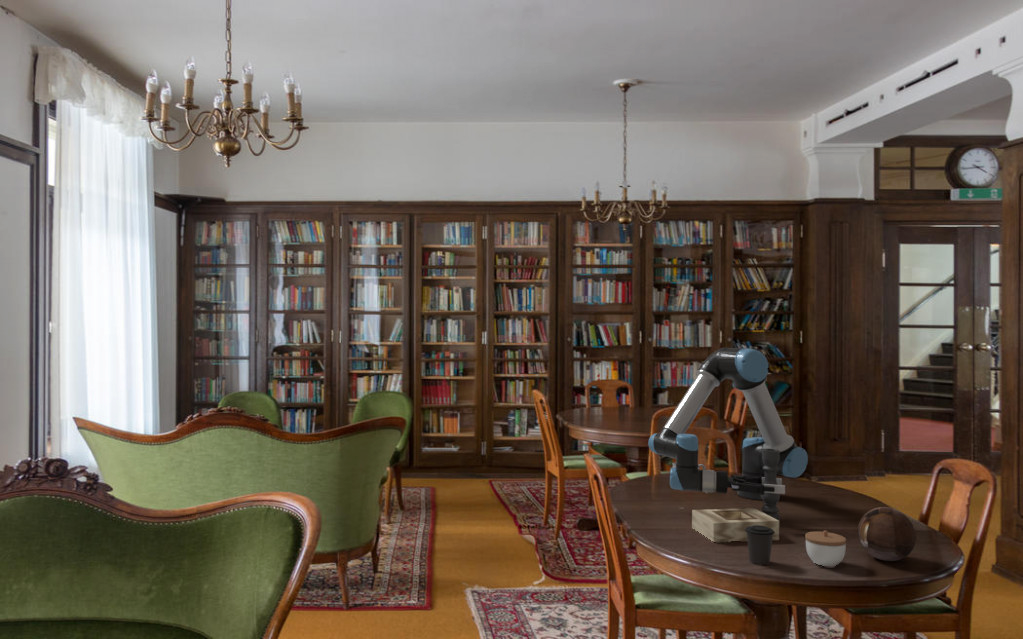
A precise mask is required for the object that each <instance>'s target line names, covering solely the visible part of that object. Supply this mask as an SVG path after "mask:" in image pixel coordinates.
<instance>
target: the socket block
mask: <svg viewBox="0 0 1023 639" xmlns="http://www.w3.org/2000/svg"><path fill="white" fill-rule="evenodd" d="M754 525H760V526H765V527H768V528H771V529H773V530H774V532H775V533H774V534H773V538H772V541H779V540H780V519H779V520H777V519H775V518H773V517H771V516H769V515H767V514H765V513H763V512H762V510H758V509H757V508H755V507H747V508H746V507H743V508H738V507H737V508H714V509H710V508H709V509H692V510H691V529H693V530H694V529H695V530H694V531H696V532H697V531H698V532H699V534H700V533H701V534H702V536H703V535H704V536H705V537H704V536H703V537H704V538H706V537H707V538H708V539H707V538H706V539H707V540H709V539H710V540H711V541H710V540H709V541H710V542H712V541H713V542H716V543H730V542H731V541H741V542H748V540H747V532H746V531H745V529H746V527H748V526H754ZM698 532H697V533H698ZM701 534H700V535H701ZM727 541H728V542H727ZM713 542H712V543H713ZM731 543H732V542H731Z"/></svg>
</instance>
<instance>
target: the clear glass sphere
mask: <svg viewBox="0 0 1023 639" xmlns="http://www.w3.org/2000/svg"><path fill="white" fill-rule="evenodd" d="M857 536H858V540H859V542H860V544H861V546H862V547H863V549H864V550H865V551H866V552H867V553H868V554H870V555H871V556H872V557H874V558H876V559H878V560H880V561H886V562H897V561H899V560H903V559H905V558H906V557H908V555H910V554H911V552H913V549H914V548H915V546H916V542H917V541H916V540H917V534H916V530H915V526H914V525H913V523H912V522H911V520H910V519H909V518H908V517H907V515H906V514H904V513H903V512H901V511H899V510H898V509H894V508H891V507H888V506H887V507H886V506H882V507H881V506H880V507H875V508H872V509H870V510H868V511H866V513H864V514H863V516H861V518H860V520H859V521H858V526H857Z"/></svg>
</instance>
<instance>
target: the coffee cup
mask: <svg viewBox="0 0 1023 639" xmlns="http://www.w3.org/2000/svg"><path fill="white" fill-rule="evenodd" d="M745 531H746V532H747V540H748V541H747V548H748V550H747V551H748V557H749V559H748V560H749V563H751V562H752V563H751V564H753V563H755V564H754V565H757V564H761V565H760V566H765V565H764V564H768V565H769V564H770V559H771V552H772V545H773V540H772V538H773V534H774V533H775V532H774V530H773V529H771V528H768V527H765V526H760V525H754V526H748V527H746V529H745Z"/></svg>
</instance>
